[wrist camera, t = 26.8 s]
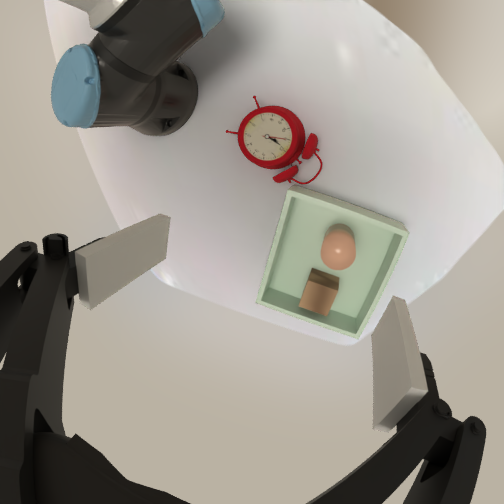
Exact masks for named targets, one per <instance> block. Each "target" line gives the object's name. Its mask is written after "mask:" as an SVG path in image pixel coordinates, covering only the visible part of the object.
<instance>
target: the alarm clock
mask: <svg viewBox="0 0 504 504" xmlns="http://www.w3.org/2000/svg"><path fill="white" fill-rule="evenodd" d="M253 98H254V99H255V102H256V105H257V107H258V109H255V110H253V111H252V112H250V113H249V114H248V115H247V116H246V117H245V118H244V119H243V121H242V122H241V124H240V127H239V130H238V132H231V131H228V130H226V133H228V132H229V133H233V134H238V143H239V146H240V149H241V151H242V153H243V154H244V155H245V157H246V158H247V159H248V160H250V161H251V162H253V163H255V164H256V165H258V166H260V167H263V168H267V169H280V168H283V167H286V166H288V165H290V164H292V163H293V162H294V161H295V160H297V161H298V162H299V164H301V163H302V161H299V160H298V159H297V158H298V157H299V156H300V154H301V153H302V151H303V153H302V158H303V159H310V158H311V157H312V155H313V154H315V155H316V156H317V158H318V159H319V160H320V163H321V166H320V170H319V171H318V173H317V174H316V176H315V177H314V178H313V179H311V180H310V181H308V182H305V183H302V182H299V181H297V180H295V179H293V178H292V177H293V176H295V175H296V174H297V172H298V168H297V166H296V165H295V166H292V165H291V166H292V167H291V168H289V169H287V170H285V171H283V172H282V173H280V174H278V175H276V176H274V177H273V180H274V181H275V182H277V183H281V182H284V181H287V180H288V181H289V183H291V181H290V180H294V181H295V182H297V183H299V184H308V183H310V182H311V181H313V180H314V179H315V178H316V177H317V176H318V174H319V173H320V171H321V169H322V161H321V159H320V157H319V156H318V155H317V154H316V152H315V150H317V151H319V149H317V148H316V147H317V142H318V138H317V136H316V135H315V134H313V133H311V134H310V135H309V137H308V139H307V142H306V144H305V131H304V127H303V125H302V123H301V121H300V120H299V118H298V117H297V116H296V115H295V114H294V113H292V112H291V111H290V110H288V109H286V108H283V107H280V106H266V107H261V108H260V107H259V105H258V103H257V100H256V96H253ZM304 145H305V147H304ZM303 148H304V150H303Z"/></svg>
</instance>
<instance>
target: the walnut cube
mask: <svg viewBox="0 0 504 504" xmlns="http://www.w3.org/2000/svg"><path fill="white" fill-rule="evenodd" d="M338 289H339V277H337V276H334V275H332V274H329V273H326V272H323V271H320V270H317V269H315V268H312V269H311V272H310V275H309V277H308V280H307V283H306V285H305V288H304V291H303V294H302V297H301V300H300V303H299V307H302V308H305V309H307V310H310V311H313V312H316V313H319V314H322V315H324V316H327V315H328V313H329V311H330V309H331V306H332V304H333V302H334V300H335V297H336V295H337V293H338Z"/></svg>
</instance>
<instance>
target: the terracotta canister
mask: <svg viewBox="0 0 504 504" xmlns="http://www.w3.org/2000/svg"><path fill="white" fill-rule="evenodd" d="M355 257H356V248H355V237H354V233H353V231H352V230H351V228H350V227H348V226H347V225H345V224H339V223H338V224H334V225H332V226H330V227H329V228H328V229H327V230H326V232H325V235H324V239H323V243H322V247H321V259H322V261H323V263H324V264H325V265H326V266H327V267H329V268H330V269H333V270H344V269H346V268H348V267H350V266H351V265H352V264H353V262H354V260H355Z"/></svg>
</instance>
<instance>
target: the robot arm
mask: <svg viewBox="0 0 504 504" xmlns="http://www.w3.org/2000/svg"><path fill="white" fill-rule="evenodd" d="M60 1H62V2H65V3H67V4H69V5H72V6H74V7H76V8H79V9H81V10H83V11H85V12H87V13H88V15H89V21H90V27H91V28H92V29H94V30H96V31H98V32H99V33H98V34H97V35H96V36H95V38H94V39H93V40H92V41H91V42H90V44H89V45H87V44H80V45H75V46H74V47H72V48H70V49H68V50H67V51H66V52H65V54H64V55H63V56H62V58H61V59H60V61H59V63H58V65H57V67H56V70H55V73H54V77H53V81H52V91H51V101H52V107H53V110H54V113H55V115H56V117H57V119H58V120H59V121H60V122H61V123H62V124H64V125H65V126H68V127H81V128H92V127H111V126H129V127H131V128H133V129H135V130H137V131H139V132H141V133H143V134H145V135H150V136H162V135H167V134H170V133H172V132H174V131H176V130H178V129H179V128H180V127H181V126H183V125H184V124H185V122H186V121H187V120H188V119H189V117H190V116H191V114H192V112H193V110H194V107H195V105H196V101H197V94H198V88H197V82H196V78H195V76H194V74H193V73H192V71H191V70H190V69H189V68H188V67H187V66H186V65H184V64H182V63H180V62H177V61H176V60H177V59H178V58H179V57H180V56H181V55H182V54H183V53H184V52H186V51H187V50H188V49H189V48H190V47H191V46H192V45H194V44H195V43H196V42H197V41H198V40H200V39H201V38H204V37H205V36H206V34H207V33H208V32H209V31H210V30H211V29H212V28H214V27H215V26H216V25H217V24H218V23H220V22H221V20H222V19H223V17H224V13H225V12H224V8H223V6H222V4H221V3H220V1H219V0H60ZM170 218H171V217H168V216H166V215H163V214H158V215H156V216H153V217H151V218H148V219H146V220H144V221H141V222H139V223H136V224H134V225H132V226H130V227H127V228H125V229H123V230H120V231H118V232H116V233H114V234H111V235H109V236H107V237H103V238H99V239H97V240H94V241H92V243H91V242H90V243H88V244H87V245H83V246H81V247H79V248H77V249H75V250H73V251H71V252H69V249H68V237H67V236H66V235H64V234H58V233H57V234H50V235H47V236H45V237H44V238H43V239H42V241H43V250H44V255H43V254H40V253H38V250H37V244H36V243H34V242H29V241H27V242H23V243H20V244H18V245H17V246H16V247H15V248H14V249H12V250H11V251H10V252H9V253H8V254H7V255H6V256H5V257H4V258H3V259H2V260H1V261H0V362H1V361H2V359H3V357H4V355H5V353H6V352H7V353H6V357H5V360H4V364H3V368H2V369H1V370H0V504H190V503H188V502H186V501H183V500H181V499H179V498H177V497H175V496H173V495H171V494H169V493H167V492H164V491H160V490H157V489H153V488H150V487H147V486H144V485H140V484H137V483H134V482H132V481H129V480H127V479H126V478H125V477H124V476H123V475H122V474H121V473H120V472H119V471H118V470H117V469H116V468H115V467H114V466H113V465H112V464H111V463H110V462H109V461H108V460H107V459H106V458H105V456H103V454H102V453H101V452H99V451H98V450H97V449H95V448H94V447H92V446H91V445H90V444H88V443H87V442H86V441H85V440H83V439H82V438H81V437H79V436H78V435H77V434H75V435H74V436H73V437H72V438H70V437H67V436H65V431H64V427H63V423H62V396H63V395H62V394H63V380H64V368H65V359H66V349H67V343H68V336H69V329H70V323H71V317H72V311H73V306H74V295H76V294H78V293H79V299H80V303H81V304H82V305H84V306H85V307H87V308H88V309H90V310H91V309H93V308H94V307H96V306H97V305H98V304H100V303H101V302H103V301H104V300H106V299H107V298H108V297H110V296H111V295H113V294H114V293H116V292H117V291H118V290H120V289H121V288H123V287H124V286H126V285H127V284H129V283H130V282H132V281H133V280H134V279H136V278H137V277H139V276H140V275H142V274H143V273H145V272H146V271H148V270H149V269H151V268H152V267H154V266H155V265H157V264H158V263H160V262H161V261H163V260H164V259H166V252H167V242H168V234H169V225H170ZM19 278H20V283H21V285H20V286H19V287H18V285H17V284H18V280H19ZM371 336H372V353H373V385H374V386H373V396H374V397H373V402H374V403H373V429H374V430H378V431H383V432H389V431H390V430H391V429H393V427H395V426H396V425H397V433H396V434H395V435H393V437H392V438H390V439H389V440H388V441H387V442H386V443H384V444H383V445H382V447H381V448H379V449H378V450H377V451H376V452H375V453H374V454H373V455H372V456H371V457H369V458H368V459H367V460H366V461H365V462H363V463H362V464H361V465H360V466H358V467H357V468H356V469H355V470H353V471H352V472H351V473H350V474H348V475H347V476H346V477H344V478H343V479H342V480H340V481H339V482H338V483H336V484H335V485H334V486H332V487H331V488H329V489H328V490H326V491H325V492H323V493H322V494H320V495H319V496H317V497H316V498H314V499H313V500H311V501H309V502H308V503H306V504H382V503H383V502H384V501H385V500H386V499H387V498H388V497H389V496H390V495H391V494H392V493H393V492H394V491H395V490H396V489H397V488H398V487H399V486H400V484H401V483H402V482H403V481H404V480H405V479H406V478H407V477H408V476H409V475H410V473H411V472H412V471H413V470H414V469H415V468H416V466H417V465H418V464H419V463H420V461H421V460H422V459H424V462H423V464H422V466H421V468H420V471H419V473H418V475H417V477H416V479H415V481H414V483H413V485H412V487H411V489H410V491H409V493H408V495H407V497H406V498H405V500H404V502H403V504H470V502H471V499H472V495H473V492H474V488H475V485H476V481H477V478H478V474H479V469H480V465H481V460H482V456H483V450H484V445H485V438H486V428H485V425H484V423H483V422H482V421H481V420H480V419H479V418H477V417H475V416H470V417H468V418H467V419H466V420H465V421H464V422H461V421H459V420H457V419H455V418H453V417H452V411H451V409H450V407H449V405H448V404H447V403H446V402H445V401H443V400H442V399H440V398H439V394H438V390H437V386H436V381H435V379H434V372H433V369H432V365H431V362H430V360H429V359H428V357H427V356H426V354H423V353H420V351H419V347H418V343H417V340H416V336H415V332H414V329H413V325H412V322H411V319H410V315H409V312H408V308H407V305H406V302H405V300H404V299H401V298H398V297H395V296H393V297H392V299H391V301H390V303H389V304H388V306H387V308H386V310H385V312H384V314H383V316H382V317H381V319H380V321H379V323H378V325H377V326H376V328H375V330H374V332H373V333H372V335H371Z"/></svg>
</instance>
